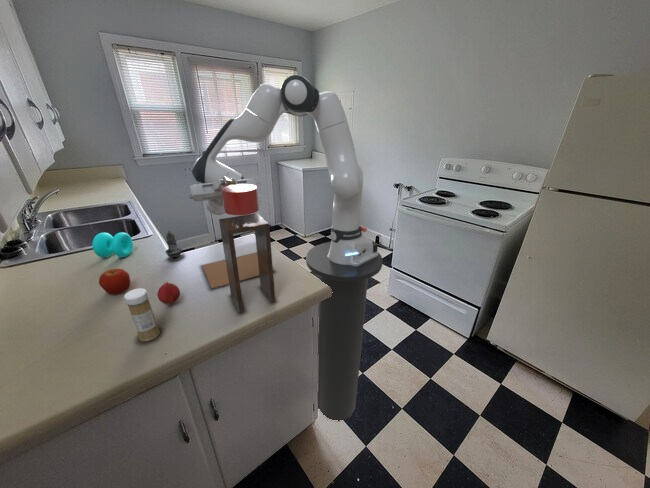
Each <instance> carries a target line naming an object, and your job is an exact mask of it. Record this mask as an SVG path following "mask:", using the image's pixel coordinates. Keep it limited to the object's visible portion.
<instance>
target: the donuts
mask: <svg viewBox="0 0 650 488" xmlns="http://www.w3.org/2000/svg"><path fill="white" fill-rule="evenodd" d="M91 246H92V250H93V252H94V254H95V255H96V256H97V257H99V258H108V257H110V256H113V254H114V255H115V256H117V257H119V258H126V257H128V256H129V255H130V254H131V253H132V251H133V249H134V242H133V238H132V237H131V236H130V234H128V233H127V232H123V231H121V232H118V233H116V234H115V235H114V236H113V235H112V234H110V233H109V232H100V233H97V234H96V235H95V236H94V238H93V239H92V243H91Z"/></svg>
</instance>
